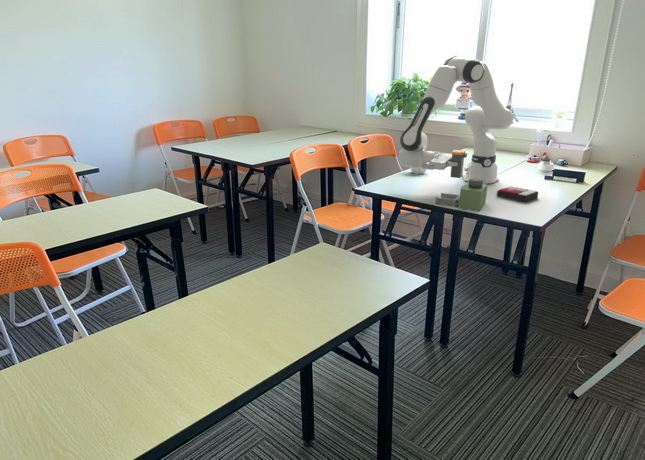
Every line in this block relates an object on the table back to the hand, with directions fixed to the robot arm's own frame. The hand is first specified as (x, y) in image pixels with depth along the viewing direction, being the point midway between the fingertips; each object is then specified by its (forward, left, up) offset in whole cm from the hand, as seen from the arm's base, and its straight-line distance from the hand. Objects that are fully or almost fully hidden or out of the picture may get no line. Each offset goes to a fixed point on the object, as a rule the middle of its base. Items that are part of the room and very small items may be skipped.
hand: (459, 163), depth 223 cm
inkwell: (-48, +65, -17) cm, 82 cm away
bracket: (+10, -7, -16) cm, 20 cm away
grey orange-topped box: (0, -1, -7) cm, 7 cm away
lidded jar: (-48, -8, -17) cm, 52 cm away
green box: (+16, +3, -16) cm, 23 cm away
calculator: (+3, +28, -17) cm, 33 cm away
